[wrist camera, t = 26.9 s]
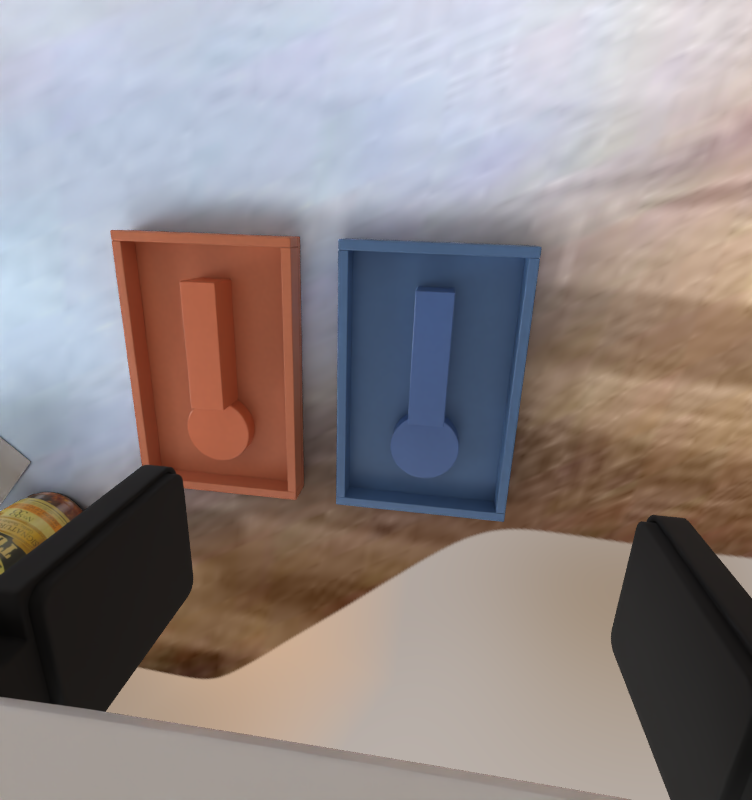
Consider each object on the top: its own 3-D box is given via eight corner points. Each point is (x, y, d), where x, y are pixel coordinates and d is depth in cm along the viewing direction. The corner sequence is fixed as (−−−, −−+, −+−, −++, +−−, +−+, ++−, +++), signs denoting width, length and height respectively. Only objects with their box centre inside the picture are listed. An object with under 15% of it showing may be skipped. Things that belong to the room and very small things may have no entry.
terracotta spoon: (182, 276, 32) (161, 280, 29) (248, 279, 31) (232, 283, 29) (198, 450, 36) (181, 465, 33) (256, 456, 35) (243, 471, 33)
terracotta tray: (129, 230, 32) (109, 230, 30) (300, 236, 30) (290, 237, 28) (159, 471, 37) (144, 484, 35) (304, 486, 36) (296, 500, 34)
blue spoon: (399, 285, 30) (395, 289, 28) (473, 288, 29) (475, 293, 27) (390, 467, 34) (386, 483, 32) (455, 473, 33) (456, 490, 31)
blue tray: (345, 238, 30) (338, 238, 28) (535, 245, 29) (541, 246, 27) (342, 490, 36) (336, 504, 34) (500, 506, 34) (504, 521, 32)
